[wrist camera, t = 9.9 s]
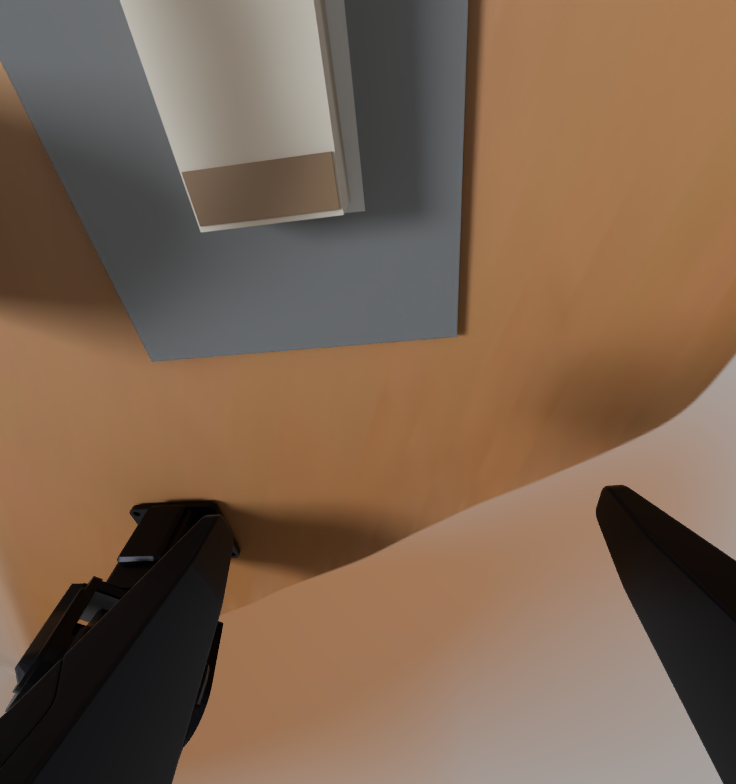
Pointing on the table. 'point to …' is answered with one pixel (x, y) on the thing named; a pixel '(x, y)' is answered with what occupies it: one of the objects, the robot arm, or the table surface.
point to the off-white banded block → (246, 106)
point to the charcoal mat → (271, 241)
